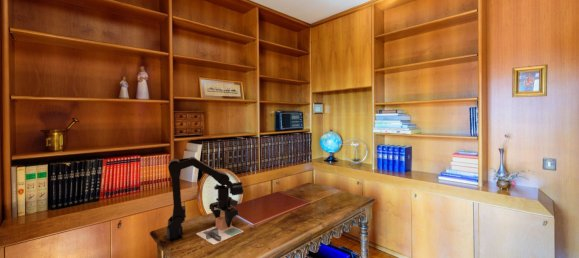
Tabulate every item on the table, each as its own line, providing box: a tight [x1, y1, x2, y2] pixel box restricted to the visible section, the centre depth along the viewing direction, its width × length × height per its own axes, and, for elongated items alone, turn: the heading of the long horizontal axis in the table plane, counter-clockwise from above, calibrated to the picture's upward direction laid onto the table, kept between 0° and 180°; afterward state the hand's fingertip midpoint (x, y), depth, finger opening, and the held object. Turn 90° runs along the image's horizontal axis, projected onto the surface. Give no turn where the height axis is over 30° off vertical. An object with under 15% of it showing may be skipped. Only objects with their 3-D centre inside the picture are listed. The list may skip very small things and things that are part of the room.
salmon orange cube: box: [215, 214, 233, 230], centre depth 140 cm, size 6×6×5 cm
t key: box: [206, 228, 221, 240], centre depth 127 cm, size 8×6×3 cm
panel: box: [195, 225, 244, 245], centre depth 134 cm, size 18×16×4 cm
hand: (223, 224), depth 140 cm, fingers open, 9 cm apart
